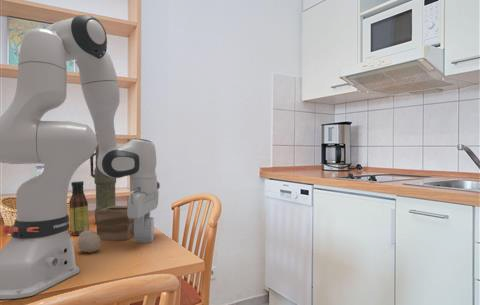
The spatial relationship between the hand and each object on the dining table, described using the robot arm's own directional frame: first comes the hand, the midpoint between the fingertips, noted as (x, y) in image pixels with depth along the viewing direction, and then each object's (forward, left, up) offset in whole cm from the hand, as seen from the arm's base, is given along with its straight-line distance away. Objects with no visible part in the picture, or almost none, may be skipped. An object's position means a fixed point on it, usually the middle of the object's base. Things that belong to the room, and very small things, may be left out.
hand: (143, 226), depth 112 cm
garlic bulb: (-12, +13, -5) cm, 18 cm away
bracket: (0, 0, -5) cm, 5 cm away
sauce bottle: (+9, +28, -5) cm, 30 cm away
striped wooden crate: (+7, +12, -5) cm, 15 cm away
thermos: (+28, +27, -5) cm, 39 cm away
